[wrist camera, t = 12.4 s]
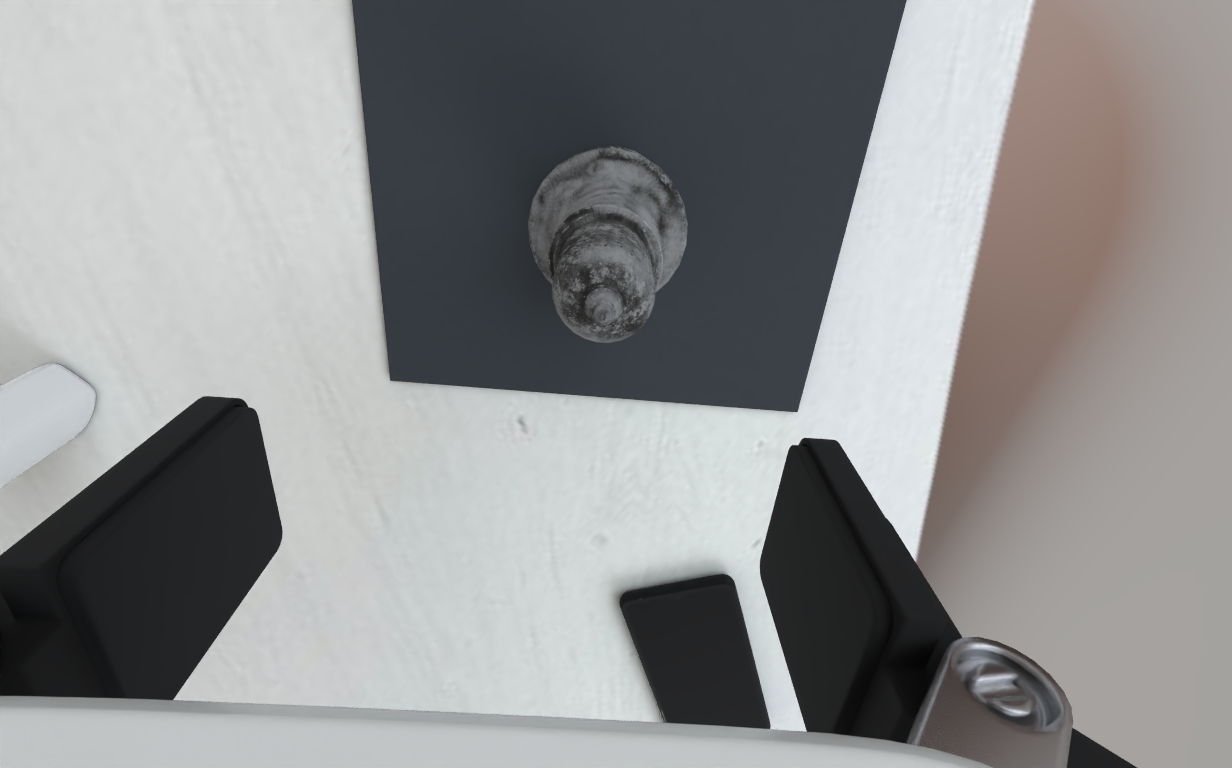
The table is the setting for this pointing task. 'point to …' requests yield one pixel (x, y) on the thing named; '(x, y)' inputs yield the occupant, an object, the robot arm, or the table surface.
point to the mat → (637, 120)
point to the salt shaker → (607, 239)
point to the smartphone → (697, 652)
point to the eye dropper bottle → (40, 416)
